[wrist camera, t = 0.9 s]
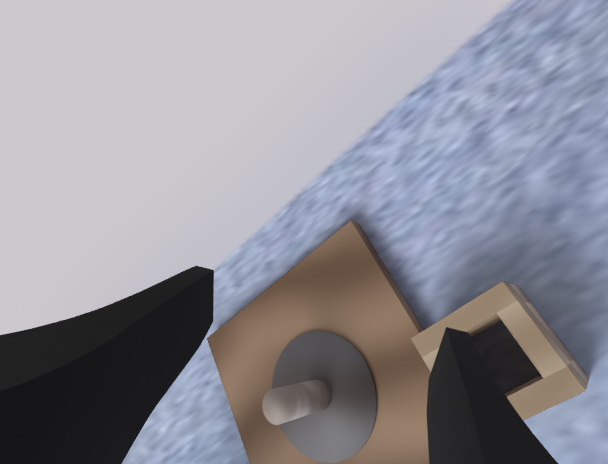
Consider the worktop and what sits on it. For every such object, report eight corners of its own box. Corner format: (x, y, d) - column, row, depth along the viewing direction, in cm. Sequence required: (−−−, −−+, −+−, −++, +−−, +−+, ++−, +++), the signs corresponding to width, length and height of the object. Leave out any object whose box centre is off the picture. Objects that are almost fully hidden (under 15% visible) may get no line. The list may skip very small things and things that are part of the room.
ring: (589, 378, 19) (585, 390, 16) (493, 424, 21) (473, 443, 18) (517, 286, 21) (502, 281, 18) (437, 335, 23) (410, 338, 20)
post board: (516, 480, 20) (491, 526, 16) (299, 570, 26) (236, 622, 22) (358, 223, 28) (310, 205, 23) (216, 337, 33) (156, 341, 29)
